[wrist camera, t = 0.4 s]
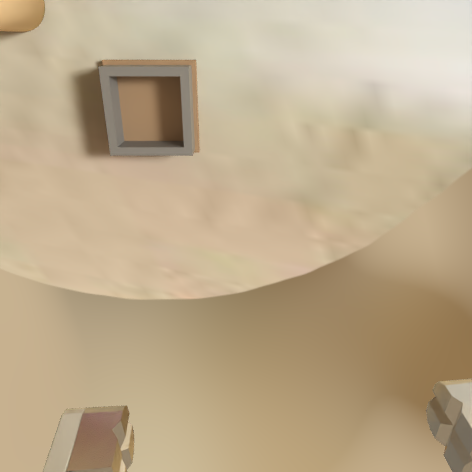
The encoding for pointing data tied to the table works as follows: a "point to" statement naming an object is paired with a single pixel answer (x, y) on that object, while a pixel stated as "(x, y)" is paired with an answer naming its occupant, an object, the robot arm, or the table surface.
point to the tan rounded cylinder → (21, 14)
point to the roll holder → (150, 107)
